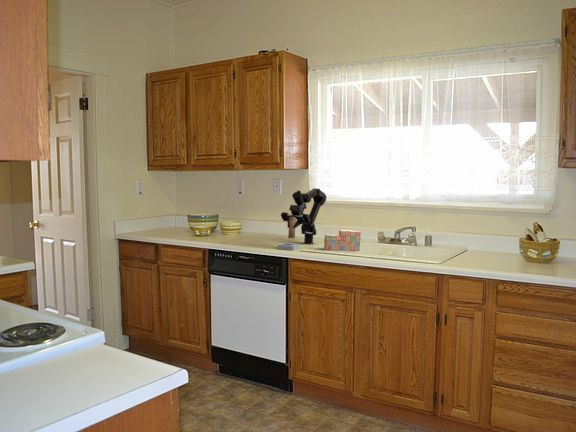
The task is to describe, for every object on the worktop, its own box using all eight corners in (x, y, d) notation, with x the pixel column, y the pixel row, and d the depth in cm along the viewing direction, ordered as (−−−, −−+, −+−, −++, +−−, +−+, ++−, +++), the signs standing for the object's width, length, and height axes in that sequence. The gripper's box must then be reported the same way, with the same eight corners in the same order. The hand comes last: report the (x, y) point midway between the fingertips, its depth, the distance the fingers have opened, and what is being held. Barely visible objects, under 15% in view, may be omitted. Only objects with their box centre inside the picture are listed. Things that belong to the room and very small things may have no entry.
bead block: (283, 246, 324) (283, 242, 323) (298, 248, 320) (298, 244, 320) (277, 248, 314) (277, 244, 314) (293, 250, 311) (293, 246, 310)
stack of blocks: (325, 250, 318) (326, 230, 317) (323, 248, 324) (324, 229, 323) (359, 251, 320) (360, 231, 319) (357, 249, 326) (358, 230, 325)
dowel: (287, 237, 322) (288, 216, 321) (294, 237, 323) (295, 216, 322) (288, 238, 318) (289, 217, 317) (295, 238, 319) (296, 217, 318)
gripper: (282, 199, 326) (273, 217, 317) (309, 201, 318) (301, 220, 309) (287, 211, 334) (279, 229, 325) (314, 213, 326) (306, 232, 317)
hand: (291, 227), depth 319 cm, fingers closed on dowel, 4 cm apart
